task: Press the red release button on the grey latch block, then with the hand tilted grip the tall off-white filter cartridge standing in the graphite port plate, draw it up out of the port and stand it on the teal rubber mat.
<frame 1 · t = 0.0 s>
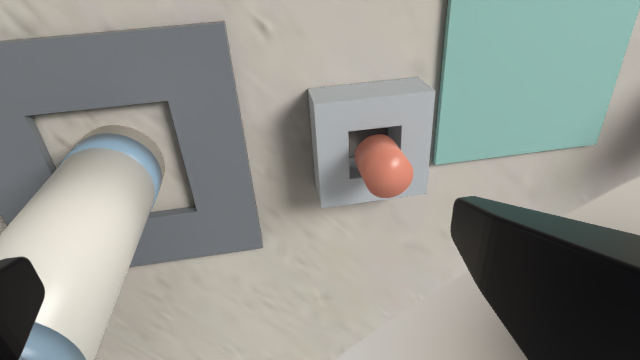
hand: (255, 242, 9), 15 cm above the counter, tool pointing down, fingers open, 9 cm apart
cartridge: (122, 163, 23), resting in port plate
release button: (382, 165, 21), point 4 cm above the counter, slide at 0.0 cm
rubber mat: (531, 67, 24), on the counter
port plate: (121, 163, 23), on the counter
latch block: (364, 134, 24), on the counter
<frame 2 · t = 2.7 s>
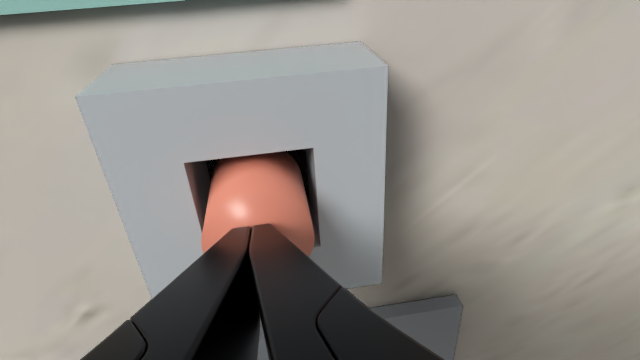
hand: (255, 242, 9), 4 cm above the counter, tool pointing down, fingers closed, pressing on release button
release button: (258, 210, 10), point 3 cm above the counter, slide at 1.4 cm, touching gripper
latch block: (257, 161, 12), on the counter
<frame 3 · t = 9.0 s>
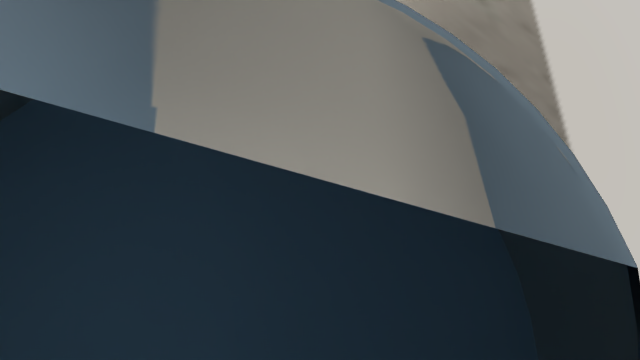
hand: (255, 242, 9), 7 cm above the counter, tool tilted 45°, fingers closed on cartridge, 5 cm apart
cartridge: (274, 300, 15), resting in port plate, touching gripper
when the fingers open (8 cm above the counter, at t = 13.7 s): cartridge stays where it is, resting on rubber mat.
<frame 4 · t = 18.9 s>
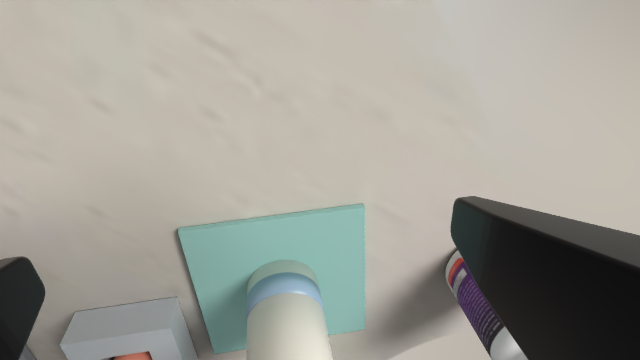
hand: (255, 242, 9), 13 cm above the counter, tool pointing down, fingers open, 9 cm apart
cartridge: (282, 286, 27), resting on rubber mat
rubber mat: (282, 282, 27), on the counter
latch block: (140, 336, 27), on the counter
pill bottle: (478, 261, 29), on the counter
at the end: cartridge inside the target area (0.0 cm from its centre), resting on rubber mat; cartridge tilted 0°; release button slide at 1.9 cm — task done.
